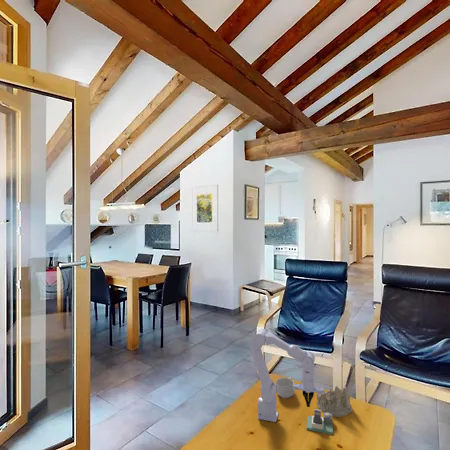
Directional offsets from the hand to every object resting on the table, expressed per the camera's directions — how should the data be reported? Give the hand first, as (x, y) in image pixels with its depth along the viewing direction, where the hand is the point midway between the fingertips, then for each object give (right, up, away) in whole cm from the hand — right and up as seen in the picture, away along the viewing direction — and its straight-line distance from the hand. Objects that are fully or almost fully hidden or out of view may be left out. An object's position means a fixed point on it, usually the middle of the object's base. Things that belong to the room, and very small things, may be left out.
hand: (308, 405), depth 154 cm
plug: (+4, -9, -1) cm, 10 cm away
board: (+6, -10, 0) cm, 11 cm away
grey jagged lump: (+18, -10, +15) cm, 26 cm away
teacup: (-5, -10, +29) cm, 31 cm away
